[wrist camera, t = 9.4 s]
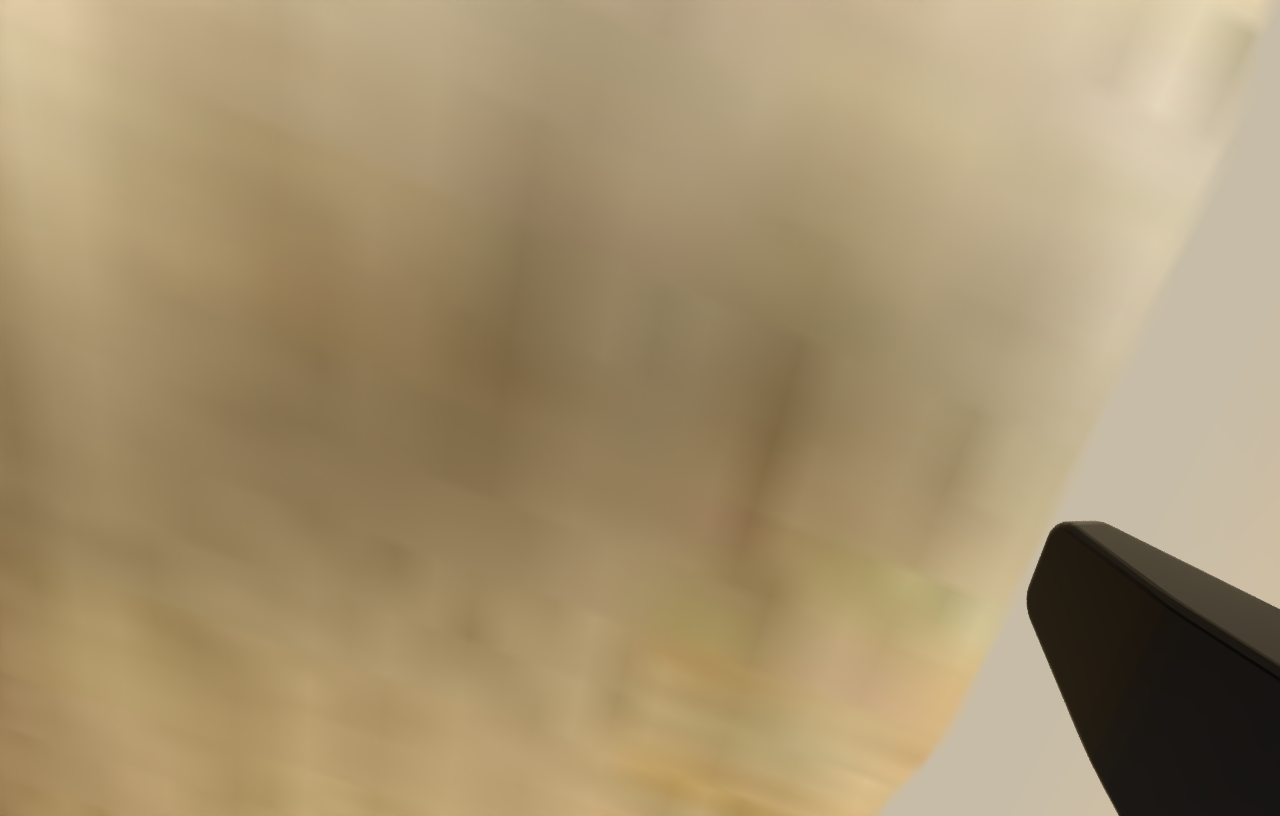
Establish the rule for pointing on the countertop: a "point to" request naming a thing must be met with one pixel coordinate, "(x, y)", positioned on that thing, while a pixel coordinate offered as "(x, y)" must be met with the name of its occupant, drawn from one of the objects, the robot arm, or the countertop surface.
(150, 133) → the countertop surface
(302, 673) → the countertop surface
